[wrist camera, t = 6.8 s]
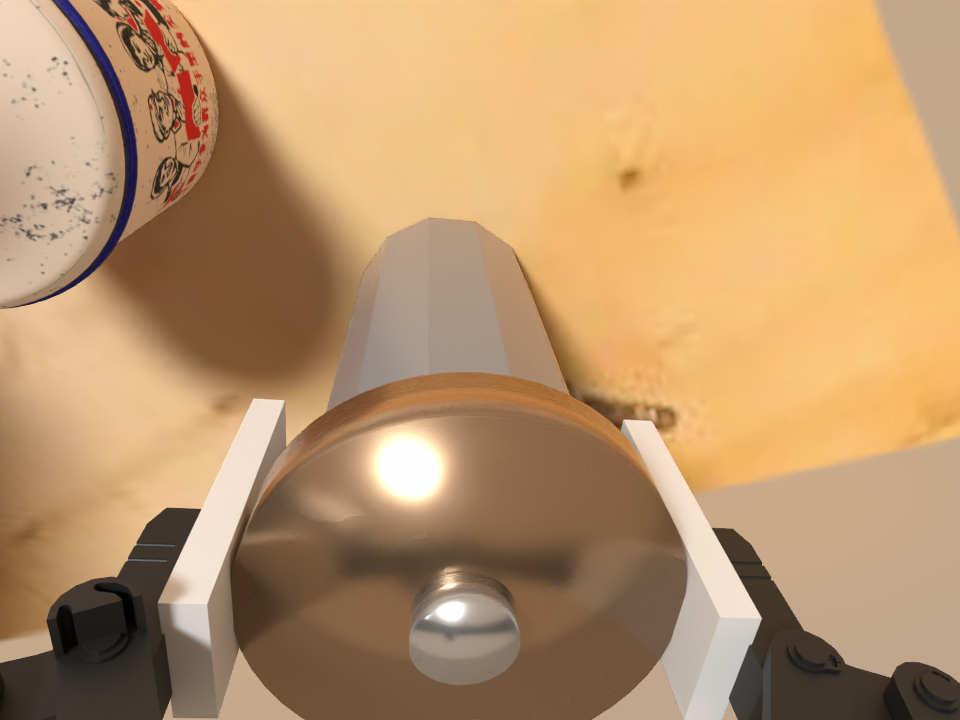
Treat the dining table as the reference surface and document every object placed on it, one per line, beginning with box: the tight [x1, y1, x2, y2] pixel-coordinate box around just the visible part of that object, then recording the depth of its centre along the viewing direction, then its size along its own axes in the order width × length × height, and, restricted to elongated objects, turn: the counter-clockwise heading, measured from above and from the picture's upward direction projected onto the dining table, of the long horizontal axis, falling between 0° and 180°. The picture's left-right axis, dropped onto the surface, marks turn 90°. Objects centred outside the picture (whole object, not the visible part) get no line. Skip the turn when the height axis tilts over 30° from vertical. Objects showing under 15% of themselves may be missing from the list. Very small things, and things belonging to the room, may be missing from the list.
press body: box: [326, 218, 570, 412], centre depth 22 cm, size 7×9×14 cm
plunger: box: [230, 372, 687, 720], centre depth 19 cm, size 9×9×14 cm
